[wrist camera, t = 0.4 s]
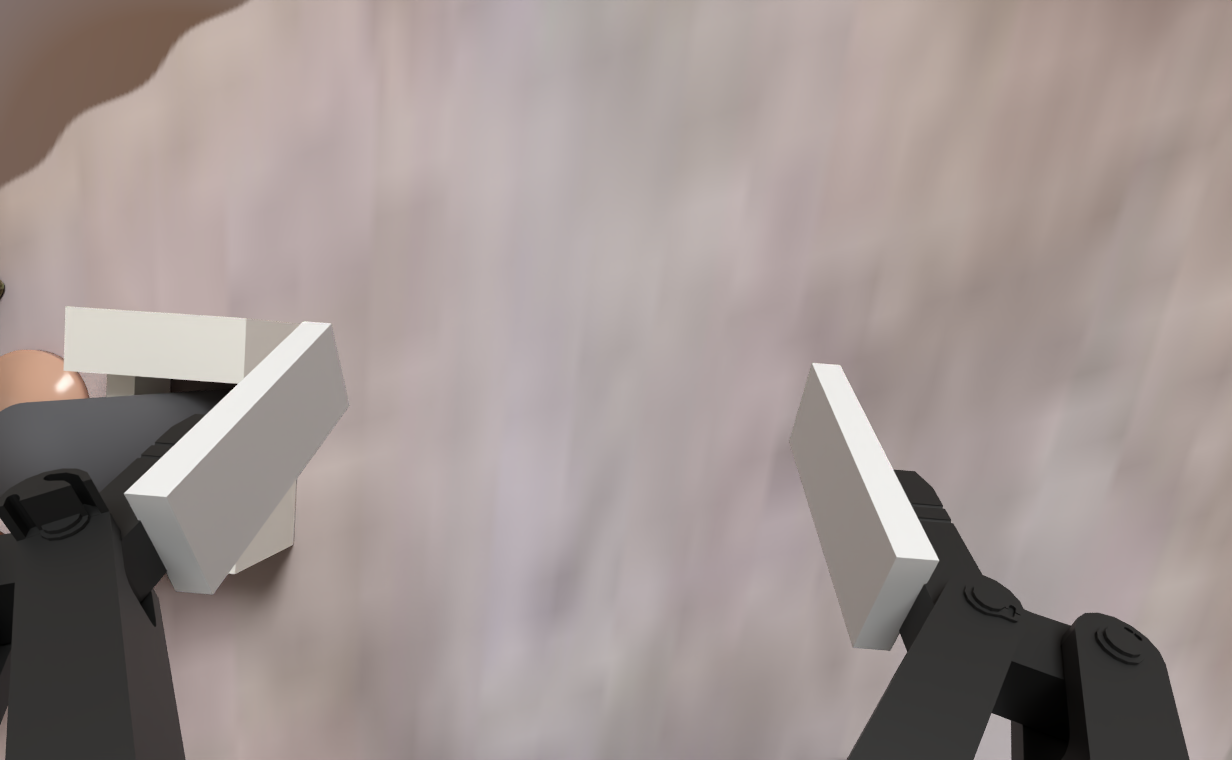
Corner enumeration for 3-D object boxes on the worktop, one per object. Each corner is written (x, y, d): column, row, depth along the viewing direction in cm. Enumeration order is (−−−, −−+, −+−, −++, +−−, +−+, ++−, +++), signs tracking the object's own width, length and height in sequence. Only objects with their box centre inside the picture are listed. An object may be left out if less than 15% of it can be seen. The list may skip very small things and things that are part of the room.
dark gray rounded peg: (255, 471, 36) (81, 519, 25) (181, 464, 37) (-23, 509, 26) (259, 392, 36) (85, 406, 25) (184, 386, 36) (-20, 398, 25)
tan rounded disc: (87, 466, 37) (78, 468, 36) (-16, 457, 37) (-28, 459, 37) (91, 354, 37) (82, 353, 36) (-13, 346, 37) (-24, 346, 37)
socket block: (293, 544, 36) (235, 574, 31) (138, 530, 37) (57, 556, 32) (303, 324, 36) (246, 318, 31) (146, 313, 36) (65, 306, 31)
